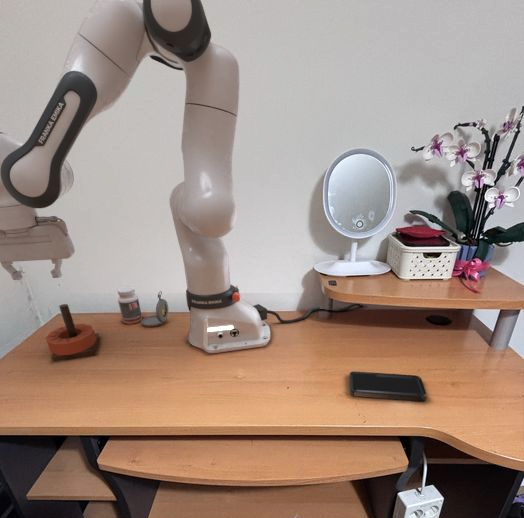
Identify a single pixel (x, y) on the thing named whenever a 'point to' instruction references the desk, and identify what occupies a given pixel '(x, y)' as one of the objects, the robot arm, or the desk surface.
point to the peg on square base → (73, 333)
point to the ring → (71, 340)
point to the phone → (387, 386)
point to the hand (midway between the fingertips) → (37, 278)
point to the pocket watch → (157, 314)
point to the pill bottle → (129, 305)
